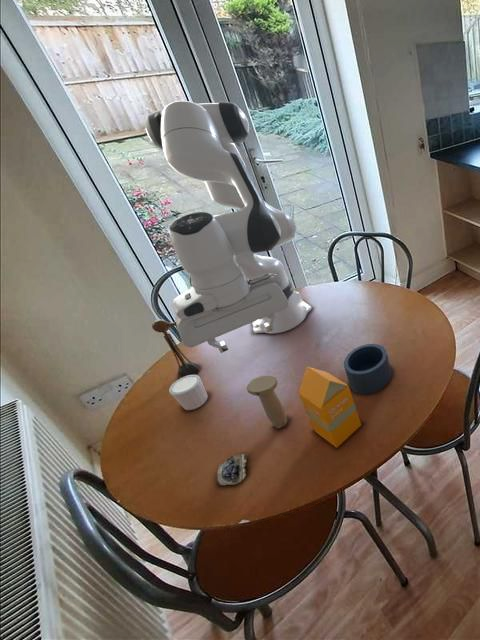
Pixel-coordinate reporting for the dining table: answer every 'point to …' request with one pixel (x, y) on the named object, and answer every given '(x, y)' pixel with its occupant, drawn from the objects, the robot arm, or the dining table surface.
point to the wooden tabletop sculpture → (185, 367)
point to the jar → (367, 368)
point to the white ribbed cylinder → (189, 392)
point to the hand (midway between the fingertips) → (248, 339)
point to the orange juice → (329, 406)
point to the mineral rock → (232, 470)
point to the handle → (269, 399)
